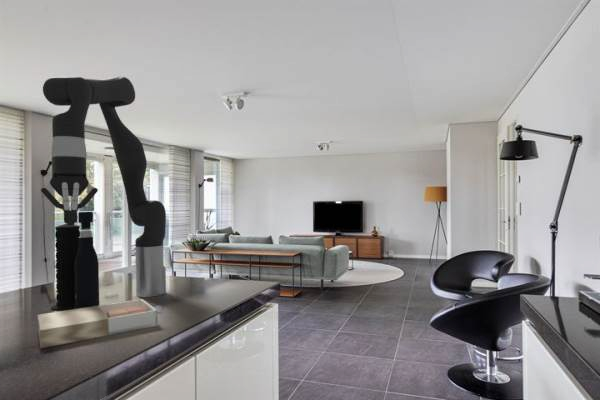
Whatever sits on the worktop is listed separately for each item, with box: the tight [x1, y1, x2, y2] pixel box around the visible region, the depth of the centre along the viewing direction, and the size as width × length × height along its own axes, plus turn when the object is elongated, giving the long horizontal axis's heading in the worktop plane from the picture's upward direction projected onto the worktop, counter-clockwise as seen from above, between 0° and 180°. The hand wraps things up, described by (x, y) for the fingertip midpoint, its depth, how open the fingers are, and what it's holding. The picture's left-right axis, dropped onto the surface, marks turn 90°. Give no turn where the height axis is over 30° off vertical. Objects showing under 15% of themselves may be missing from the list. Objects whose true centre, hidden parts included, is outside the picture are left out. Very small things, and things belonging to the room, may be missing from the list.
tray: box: [99, 298, 159, 336], centre depth 107 cm, size 12×16×4 cm
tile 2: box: [125, 305, 146, 315], centre depth 108 cm, size 4×4×3 cm
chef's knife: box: [154, 305, 163, 315], centre depth 118 cm, size 19×1×3 cm
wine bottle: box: [75, 211, 100, 309], centre depth 121 cm, size 6×6×30 cm
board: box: [37, 306, 110, 349], centre depth 100 cm, size 14×16×4 cm
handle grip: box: [50, 223, 81, 312], centre depth 126 cm, size 10×26×10 cm
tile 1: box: [107, 308, 128, 318], centre depth 106 cm, size 4×4×3 cm
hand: (70, 225), depth 100 cm, fingers closed
